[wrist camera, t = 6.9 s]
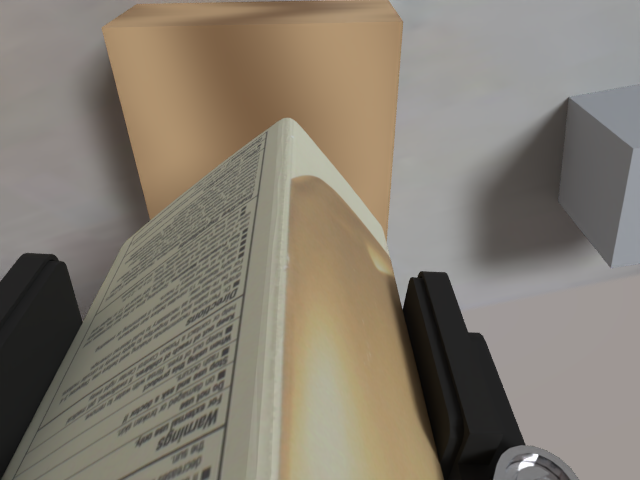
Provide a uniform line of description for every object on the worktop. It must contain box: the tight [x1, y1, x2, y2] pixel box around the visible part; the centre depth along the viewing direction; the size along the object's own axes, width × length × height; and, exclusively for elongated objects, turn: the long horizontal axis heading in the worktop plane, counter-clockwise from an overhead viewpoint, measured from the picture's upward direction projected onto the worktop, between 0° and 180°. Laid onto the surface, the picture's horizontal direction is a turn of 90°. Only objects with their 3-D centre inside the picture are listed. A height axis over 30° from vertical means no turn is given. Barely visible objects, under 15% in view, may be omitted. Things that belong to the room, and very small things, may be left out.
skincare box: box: [1, 118, 444, 480], centre depth 9 cm, size 6×4×12 cm
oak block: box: [102, 0, 403, 242], centre depth 19 cm, size 9×9×4 cm
